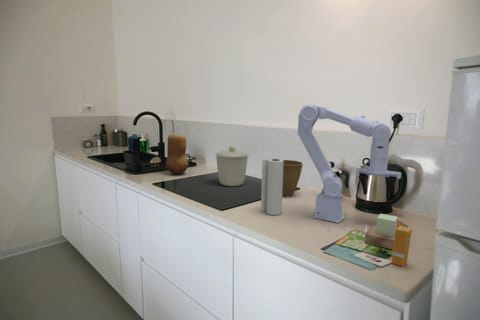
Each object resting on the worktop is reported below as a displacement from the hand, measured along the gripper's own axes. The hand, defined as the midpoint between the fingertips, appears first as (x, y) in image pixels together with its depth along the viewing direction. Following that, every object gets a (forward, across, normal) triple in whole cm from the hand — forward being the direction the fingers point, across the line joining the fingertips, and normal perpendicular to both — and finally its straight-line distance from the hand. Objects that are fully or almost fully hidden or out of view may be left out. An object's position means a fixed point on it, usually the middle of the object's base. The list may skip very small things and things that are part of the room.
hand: (376, 195), depth 113 cm
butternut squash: (+9, -118, +16) cm, 120 cm away
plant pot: (+10, -44, +15) cm, 47 cm away
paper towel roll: (+10, -36, -12) cm, 39 cm away
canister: (+10, -76, +16) cm, 79 cm away
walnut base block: (+10, +6, -15) cm, 20 cm away
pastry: (+11, +6, -1) cm, 12 cm away
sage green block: (+7, +6, -15) cm, 18 cm away
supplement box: (+11, +12, -28) cm, 33 cm away
